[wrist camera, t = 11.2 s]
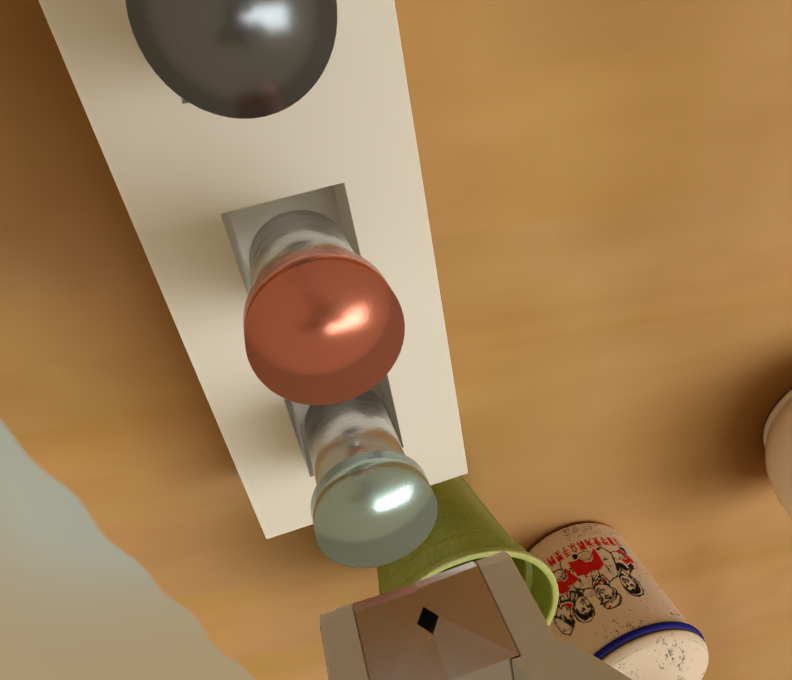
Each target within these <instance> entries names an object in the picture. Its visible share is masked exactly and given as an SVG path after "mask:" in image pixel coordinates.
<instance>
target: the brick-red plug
mask: <svg viewBox="0 0 792 680" xmlns="http://www.w3.org/2000/svg"><path fill="white" fill-rule="evenodd" d="M249 263H250V271H251V279H252V288H251V290H250V292H249V294H248V296H247V299H246V302H245V306H244V312H243V328H244V340H245V349H246V354H247V358H248V361H249V363H250V365H251V368H252V370H253V371H254V373H255V374H256V376H257V377H258V379H259V380H260V381H261V382H262V383H263V384H264V385H265V386H266V387H267V388H268V389H270V390H271V391H272V392H274V393H276V394H277V395H279V396H281V397H283V398H285V399H287V400H290V401H293V402H296V403H301V404H306V405H331V404H337V403H341V402H345V401H348V400H350V399H353V398H356V397H358V396H360V395H362V394H364V393H365V392H367V391H368V390H370V389H372V388H373V387H374V386H375V385H377V384H378V383H379V382H380V381H381V380H382V379H383V378H384V377H385V376H386V375H387V374H388V372H389V371H390V370H391V369H392V367H393V365H394V364H395V362H396V361H397V358H398V356H399V354H400V352H401V349H402V345H403V341H404V335H405V322H404V315H403V312H402V308H401V305H400V303H399V301H398V299H397V297H396V296H395V294H394V292H393V291H392V289H391V288H390V286H389V284H388V283H387V281H386V280H385V278H384V277H383V275H382V274H381V273H380V271H379V270H378V269H377V268H376V267H375V266H374V265H373V264H372V263H370V262H369V261H368V260H366V259H365V258H363V257H362V256H360V255H358V254H355V253H354V251H353V249H352V248H351V246H350V244H349V242H348V241H347V239H346V237H345V235H344V234H343V232H342V231H341V229H340V228H339V227H338V226H337V224H335V223H334V222H333V221H332V220H331V219H329V218H328V217H326V216H324V215H322V214H320V213H317V212H314V211H309V210H291V211H287V212H283V213H280V214H278V215H276V216H274V217H273V218H271V219H270V220H268V221H267V222H266V223H265V224H263V226H262V227H261V228H260V229H259V230H258V232H257V233H256V235H255V237H254V239H253V241H252V244H251V247H250V252H249Z"/></svg>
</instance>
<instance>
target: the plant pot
mask: <svg viewBox="0 0 792 680" xmlns="http://www.w3.org/2000/svg"><path fill="white" fill-rule="evenodd" d="M430 486H431V488H432V491H433V493H434V495H435V497H436V501H437V507H438V512H437V518H436V522H435V524H434V527H433V529H432V530H431V532H430V534H429V535H428V537H427V538H426V539H425V540H424V541H423V542H422V543H421V544H420V545H419V546H418V547H417V548H416V549H415V550H413V551H412V552H411V553H409V554H407V555H406V556H404V557H402V558H400V559H398V560H396V561H394V562H391V563H388V564H385V565H382V566H377V571H378V580H379V591H380V595H382V594H385V593H388V592H391V591H394V590H397V589H400V588H404V587H407V586H410V585H413V584H414V582H417V581H420V580H423V579H425V578H428V577H431V576H434V575H436V574H439V573H442V572H444V571H447V570H450V569H453V568H455V567H458V566H461V565H464V564H466V563H469V562H472V561H473V562H475V561H477V560H480V559H483V558H486V557H489V556H491V555H494V554H497V553H500V552H502V551H505V552H506V553H508V554H509V555H510V556H511V558H512V560H513V562H514V564H515V565H516V567H517V569H518V571H519V573H520V574H521V576H522V578H523V580H524V582H525V584H526V585H527V587H528V589H529V591H530V593H531V595H532V596H533V598H534V600H535V602H536V604H537V605H538V607H539V609H540V611H541V613H542V615H543V616H544V618H545V620H546V622H547V624H548V626H549V625H550V623H551V621H552V619H553V617H554V614H555V610H556V608H557V604H558V599H559V589H558V584H557V581H556V578H555V576H554V574H553V573H552V571H551V570H550V568H549V567H548V566H547V565H546V564H545V563H544V562H543V561H542V560H541V559H539V558H538V557H536V556H535V555H533V554H531V553H528V552H527V551H526V550H525V549H524V548H523V547H522V546H521V545H520V544H519V543H517V542H516V541H514V540H512V539H511V537H510V536H509V535H508V534H507V532H506V531H505V530H504V529H503V527H502V526H501V525H500V524H499V523H498V521H497V520H496V519H495V518H494V516H493V515H492V514H491V513H490V511H489V510H488V509H487V507H486V506H485V505H484V504H483V502H482V501H481V500H480V499H479V497H478V496H477V495H476V493H475V492H474V491H473V490H472V488H471V487H470V486H469V485H468V483H467V482H466V481H465V480H464V478H463V477H462V476H458V477H455V478H452V479H449V480H446V481H443V482H440V483H436V484H433V485H430Z"/></svg>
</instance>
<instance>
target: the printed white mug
mask: <svg viewBox="0 0 792 680" xmlns="http://www.w3.org/2000/svg"><path fill="white" fill-rule="evenodd" d="M528 553H531V554H533V555H535V556H536V557H538V558H539V559H541V560H542V561H543V562H544V563H545V564H546V565H547V566H548V567H549V568H550V570H551V571H552V573H553V574H554V576H555V578H556V581H557V584H558V589H559V599H558V604H557V608H556V610H555V614H554V617H553V619H552V621H551V623H550V625H549V627H550V629H551V631H552V633H553V635H554V636H555V638H556V640H557V642H560V641H563V640H566V639H568V640H569V641H571V642H572V643H574V644H576V645H577V646H579V647H581V648H582V649H584V650H585V651H587V652H589V653H590V654H592V655H593V656H595V657H597V658H598V659H600V660H602V661H603V662H605V663H606V664H608V665H610V666H611V667H613V668H614V669H616V670H618V671H619V672H621V673H623V674H624V675H626V676H627V677H629V678H631V679H632V680H701V679H702V678H703V676H704V674H705V671H706V668H707V665H708V650H707V646H706V644H705V641H704V638H703V636H702V634H701V633H700V632H699V630H697V629H696V628H695V627H693V626H692V625H689V624H688V623H687V621H686V620H685V619H684V617H683V616H682V615H681V614H680V612H679V611H678V610H677V608H676V607H675V606H674V605H673V603H672V602H671V601H670V599H669V598H668V597H667V595H666V594H665V593H664V592H663V590H662V589H661V588H660V586H659V585H658V584H657V582H656V581H655V580H654V579H653V577H652V576H651V575H650V573H649V572H648V571H647V569H646V568H645V567H644V566H643V564H642V563H641V562H640V560H639V559H638V558H637V556H636V555H635V554H634V553H633V551H632V550H631V549H630V547H629V546H628V545H627V543H626V542H625V541H624V540H623V538H622V537H621V536H620V535H619V533H618V532H616V531H615V530H614V529H612V528H610V527H608V526H606V525H603V524H597V523H581V524H576V525H572V526H569V527H566V528H563V529H560V530H558V531H556V532H554V533H552V534H550V535H549V536H547V537H545V538H544V539H543V540H541V541H540V542H539V543H537V544H536V545H535V546H534V547H533V548H532V549H531V550H530V551H529V552H528Z"/></svg>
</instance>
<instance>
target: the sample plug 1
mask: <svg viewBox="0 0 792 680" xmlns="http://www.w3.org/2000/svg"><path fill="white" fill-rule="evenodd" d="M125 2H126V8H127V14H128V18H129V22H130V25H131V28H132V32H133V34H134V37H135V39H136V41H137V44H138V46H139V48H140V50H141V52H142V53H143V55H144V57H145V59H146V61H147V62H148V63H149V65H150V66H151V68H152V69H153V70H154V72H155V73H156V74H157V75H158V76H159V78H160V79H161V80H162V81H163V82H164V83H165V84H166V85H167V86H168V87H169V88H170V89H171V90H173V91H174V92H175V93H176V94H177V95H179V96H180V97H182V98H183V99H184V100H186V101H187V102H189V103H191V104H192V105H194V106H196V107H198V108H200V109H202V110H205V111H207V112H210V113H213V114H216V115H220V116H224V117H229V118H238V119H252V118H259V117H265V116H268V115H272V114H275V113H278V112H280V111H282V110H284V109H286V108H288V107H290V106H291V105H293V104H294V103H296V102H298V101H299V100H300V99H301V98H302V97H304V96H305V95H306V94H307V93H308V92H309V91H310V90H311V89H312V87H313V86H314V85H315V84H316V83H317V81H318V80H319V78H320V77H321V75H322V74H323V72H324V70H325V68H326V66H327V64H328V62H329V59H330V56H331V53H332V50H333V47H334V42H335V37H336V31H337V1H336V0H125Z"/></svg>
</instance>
